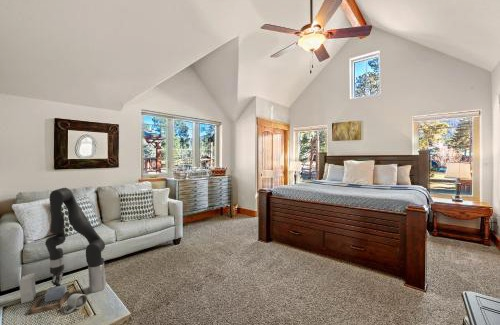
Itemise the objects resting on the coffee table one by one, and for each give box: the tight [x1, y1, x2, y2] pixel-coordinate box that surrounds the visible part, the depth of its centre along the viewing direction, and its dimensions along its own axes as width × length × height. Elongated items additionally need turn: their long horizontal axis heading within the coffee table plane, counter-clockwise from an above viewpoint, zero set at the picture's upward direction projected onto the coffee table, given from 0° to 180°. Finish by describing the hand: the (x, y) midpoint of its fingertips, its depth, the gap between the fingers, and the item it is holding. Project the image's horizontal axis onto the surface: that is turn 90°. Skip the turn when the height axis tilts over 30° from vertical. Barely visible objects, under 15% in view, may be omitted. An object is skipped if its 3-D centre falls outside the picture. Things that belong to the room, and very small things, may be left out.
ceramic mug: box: [63, 293, 88, 314], centre depth 140 cm, size 11×8×8 cm
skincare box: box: [18, 272, 37, 304], centre depth 150 cm, size 8×6×15 cm
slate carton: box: [44, 284, 68, 303], centre depth 152 cm, size 9×8×5 cm
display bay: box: [28, 291, 69, 315], centre depth 144 cm, size 15×13×2 cm
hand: (58, 289), depth 158 cm, fingers closed
